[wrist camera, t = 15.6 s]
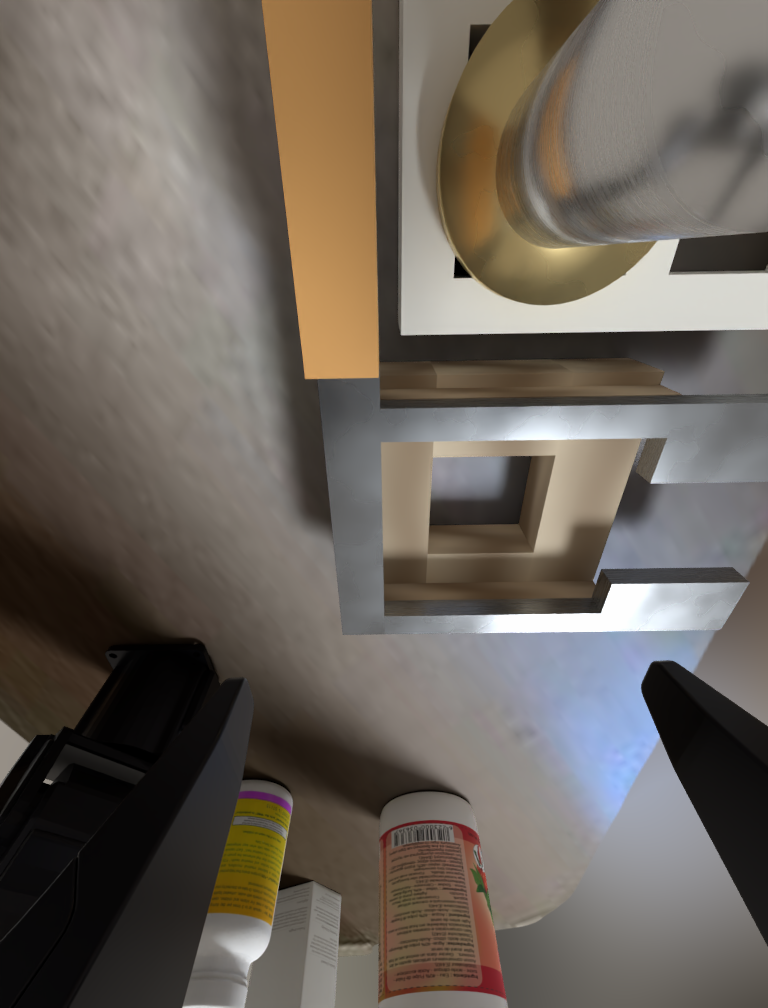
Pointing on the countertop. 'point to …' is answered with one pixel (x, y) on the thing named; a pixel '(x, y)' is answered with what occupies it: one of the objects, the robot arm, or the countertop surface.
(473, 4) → the white hollow block
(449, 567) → the socket block
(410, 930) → the fruit juice
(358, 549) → the key plate
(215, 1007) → the supplement bottle
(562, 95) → the flanged silver cylinder
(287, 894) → the skincare box
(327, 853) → the countertop surface
